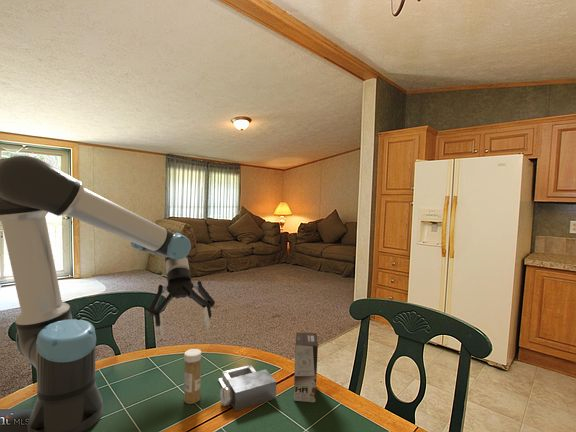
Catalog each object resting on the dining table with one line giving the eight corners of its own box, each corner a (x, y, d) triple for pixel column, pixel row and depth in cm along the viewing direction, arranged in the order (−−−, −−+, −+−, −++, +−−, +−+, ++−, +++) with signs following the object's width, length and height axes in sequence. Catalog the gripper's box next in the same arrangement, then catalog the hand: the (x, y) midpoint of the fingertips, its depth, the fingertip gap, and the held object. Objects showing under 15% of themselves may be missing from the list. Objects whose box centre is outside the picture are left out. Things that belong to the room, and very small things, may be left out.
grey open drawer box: (226, 414, 81) (226, 395, 81) (210, 382, 95) (210, 366, 94) (275, 398, 88) (276, 381, 88) (254, 371, 102) (254, 356, 101)
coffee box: (316, 402, 87) (318, 346, 86) (293, 401, 87) (294, 344, 86) (315, 383, 96) (317, 332, 95) (294, 382, 96) (296, 331, 95)
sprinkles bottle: (202, 401, 86) (203, 353, 85) (186, 406, 83) (186, 357, 83) (197, 392, 90) (198, 346, 89) (181, 397, 87) (182, 350, 87)
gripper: (211, 275, 116) (223, 329, 104) (137, 281, 104) (140, 344, 92) (216, 263, 111) (228, 319, 99) (138, 269, 99) (141, 333, 87)
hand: (186, 331), depth 95 cm, fingers open, 13 cm apart
